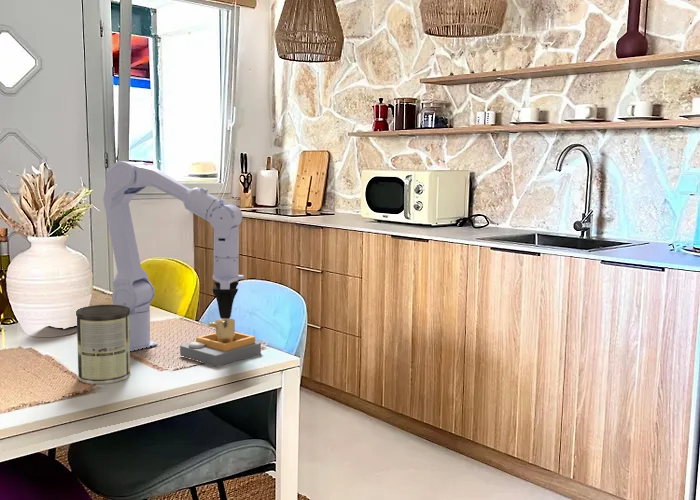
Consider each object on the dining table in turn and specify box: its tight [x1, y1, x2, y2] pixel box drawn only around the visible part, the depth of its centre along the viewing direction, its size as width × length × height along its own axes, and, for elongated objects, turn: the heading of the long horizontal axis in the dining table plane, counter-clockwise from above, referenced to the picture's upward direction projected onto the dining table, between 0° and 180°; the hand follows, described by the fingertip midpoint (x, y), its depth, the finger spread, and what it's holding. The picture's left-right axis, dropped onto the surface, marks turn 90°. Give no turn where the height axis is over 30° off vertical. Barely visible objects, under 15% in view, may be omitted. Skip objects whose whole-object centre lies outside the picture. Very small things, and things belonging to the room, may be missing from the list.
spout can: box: [208, 318, 236, 343], centre depth 154 cm, size 6×4×8 cm
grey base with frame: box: [179, 331, 262, 368], centre depth 154 cm, size 14×12×4 cm
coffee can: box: [76, 304, 131, 385], centre depth 135 cm, size 10×10×14 cm
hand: (225, 314), depth 154 cm, fingers open, 7 cm apart
